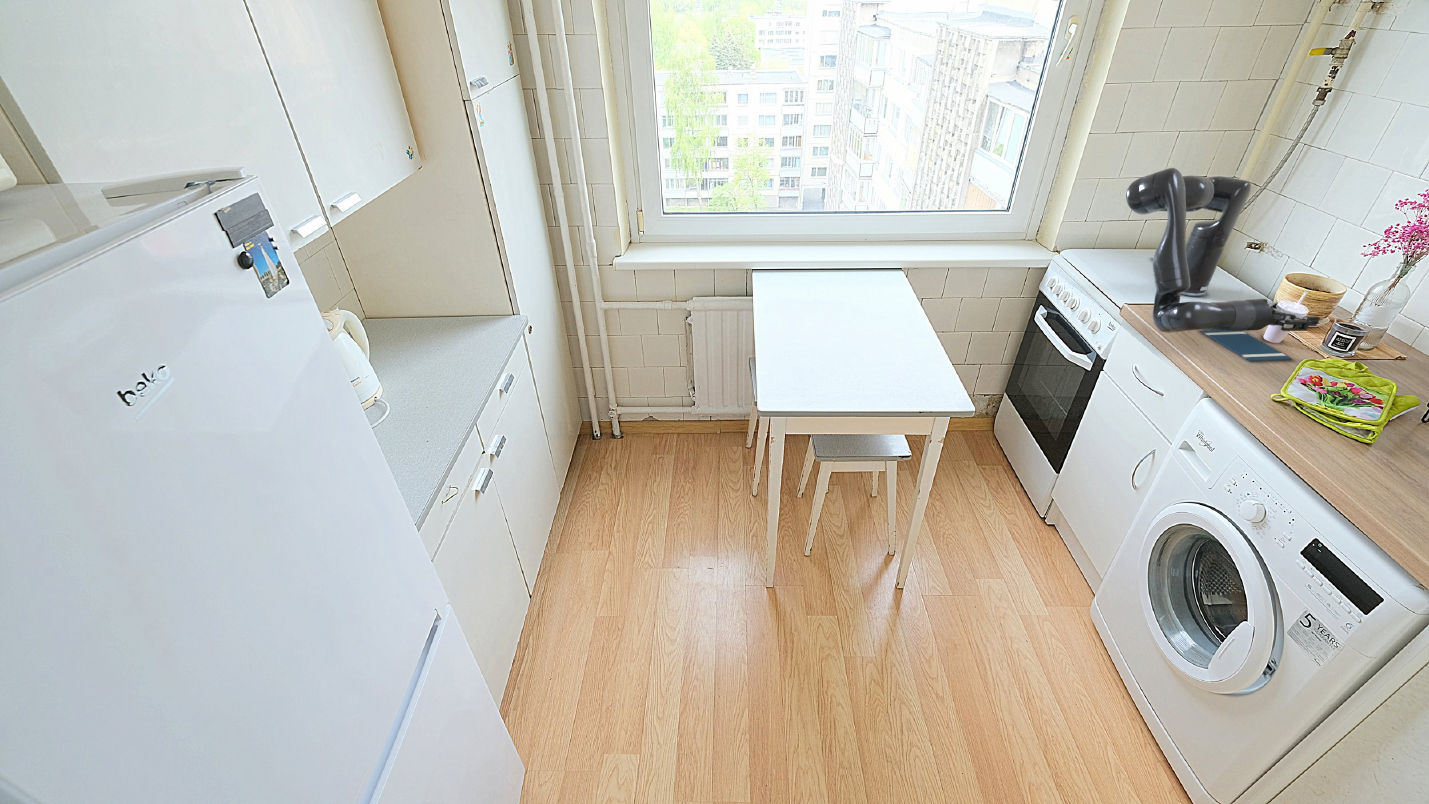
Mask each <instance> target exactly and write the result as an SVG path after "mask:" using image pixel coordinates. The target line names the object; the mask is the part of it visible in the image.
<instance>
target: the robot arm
mask: <svg viewBox="0 0 1429 804" xmlns="http://www.w3.org/2000/svg"><path fill="white" fill-rule="evenodd" d="M1251 191H1252V183H1251V182H1250V181H1249V180H1246V179H1240V178H1236V177H1235V178H1234V177H1229V176H1223V175H1216V176H1215V175H1214V176H1210V177H1206V176H1202V175H1191V174H1190V175H1183V174H1182V173H1181V171H1180V170H1179V169H1177V168H1175V167H1168V168H1165V169H1163V170H1159V171H1156V172H1153V173H1150V174H1147V175H1144V176H1141V177H1138V178H1136V179H1135V180H1133V181H1132V182H1131V183H1130V184H1129V185H1128V187H1127V189H1126V192H1125V200H1126V204H1127V206H1128V207H1129V209H1130V210H1131V211H1132V212H1134V214H1136V215H1137V214H1138V215H1141V216H1143V215H1149V214H1152V213H1156V212H1166V213H1167V220H1166V221H1167V222H1166V225H1165V229H1164V231H1163V234H1162V237H1161V239H1160V240H1159V243H1158V244H1157V247H1156V249H1155V252H1154V254H1153V258H1152V272H1153V274H1152V275H1153V279H1154V285H1155V294H1154V301H1153V308H1152V319H1153V322H1154V325H1155V327H1156V328H1157V329H1158V330H1159V331H1160V332H1163V333H1167V334H1169V333H1171V334H1172V333H1179V332H1187V331H1198V330H1200V331H1202V330H1208V331H1215V330H1226V331H1243V332H1245V331H1259V330H1263V329H1264V328H1267V327H1268V326H1269V325H1272V326H1275V325H1278V326H1282V328H1281V330H1283V331H1290V332H1307V331H1308V329H1309V327H1313V326H1317V325H1318V323H1319V322H1320V320H1321V317H1319V316H1317V315H1312V316H1311V315H1309V316H1307V315H1306V316H1304V317H1303V316H1297V315H1295V313H1292V312H1286V311H1282V310H1280V309H1277V308H1276V305H1277V304H1278V303H1279V302H1275V301H1268V299H1266V298H1255V299H1244V300H1241V299H1239V300H1229V301H1213V302H1207V301H1182V302H1181V297H1182V295H1183V296H1188V297H1203V296H1206V294H1207V290H1208V289H1209V287H1210V286H1209V285H1210V283H1211V282H1212V280H1213V277H1214V274H1215V272H1216V269H1217V267H1218V264H1219V262H1220V260H1221V258H1222V255H1223V253H1224V250H1225V248H1226V245H1227V243H1228V240H1229V238H1230V237H1231V233H1232V231H1233V230H1234V229H1235V226H1236V224H1237V222H1238V219H1239V217H1240V215H1241V213H1242V211H1243V209H1244V207H1245V205H1246V203H1247V201H1248V198H1249V197H1250V194H1251ZM1202 209H1203V210H1207V211H1212V212H1216V213H1221V215H1220V217H1219V218H1217V219H1213V220H1203V221H1198V222H1195V223H1194V224H1193V226H1192V228H1191V230H1190V234H1189V236H1188V239H1186V238H1187V236H1186V235H1187V213H1192V212H1196V211H1197V212H1198V211H1200V210H1202ZM1186 240H1187V241H1186ZM1287 315H1288V316H1290V318H1289V320H1285V318H1286V316H1287ZM1294 319H1300V320H1294ZM1284 320H1285V321H1284Z"/></svg>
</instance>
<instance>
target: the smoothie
mask: <svg viewBox="0 0 1429 804" xmlns="http://www.w3.org/2000/svg"><path fill="white" fill-rule="evenodd" d="M1308 293H1309V292H1308V291H1307V290H1305V291H1304V292H1303V293H1302V295H1301V297H1300V298H1299V300H1298V301H1297V302H1296V301H1293V300H1279V301H1278V302H1277V303H1278V304H1277V305H1276V308H1277V309H1280V310H1282V311H1286V312H1292V313H1295V315H1297V316H1303V317H1307V315H1308V313H1309V312H1310V310H1309V308H1308V307H1307V306H1305V305H1303V304H1302V301H1303V300H1304V299H1305V297H1306V295H1307V294H1308ZM1289 318H1290V316H1288V315H1287V316H1286V318H1285V320H1289ZM1285 320H1284V321H1285ZM1294 320H1300V319H1294ZM1281 328H1282V326H1278V325H1275V326H1272V325H1268V326H1267V327H1266V330H1265V332H1264V334H1263V336H1262V337H1263V339H1264V340H1265V341H1268V342H1270V343H1274V344H1280V343H1281V342H1283V340H1284V339H1285V338H1286V336H1287V335H1289V333H1290V332H1291V331H1283V330H1281Z"/></svg>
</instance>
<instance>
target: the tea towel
mask: <svg viewBox="0 0 1429 804" xmlns="http://www.w3.org/2000/svg"><path fill="white" fill-rule="evenodd" d="M1200 333H1202V334H1203V335H1205V336H1206V337H1208V338H1210V339H1212V340H1214V341H1215V342H1217V343H1219V344H1220V345H1222V346H1224V347H1225V348H1227V349H1229V350H1230V351H1232V352H1234V353H1235V354H1237V355H1239V356H1241V357H1242V358H1244V359H1245V360H1248V361H1249V362H1271V361H1272V362H1273V361H1274V362H1275V361H1292V359H1293V358H1292V357H1291V356H1288V355H1287V354H1285V353H1283V352H1281V351H1279V350H1277V349H1276V348H1273V347H1272V346H1270V345H1268V344H1266V343H1265V342H1263V341H1261V340H1259V339H1257V338H1255V337H1253V336H1252V335H1250V334H1249V333H1247V332H1245V331H1226V330H1215V331H1208V330H1202V329H1201V330H1200Z"/></svg>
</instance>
